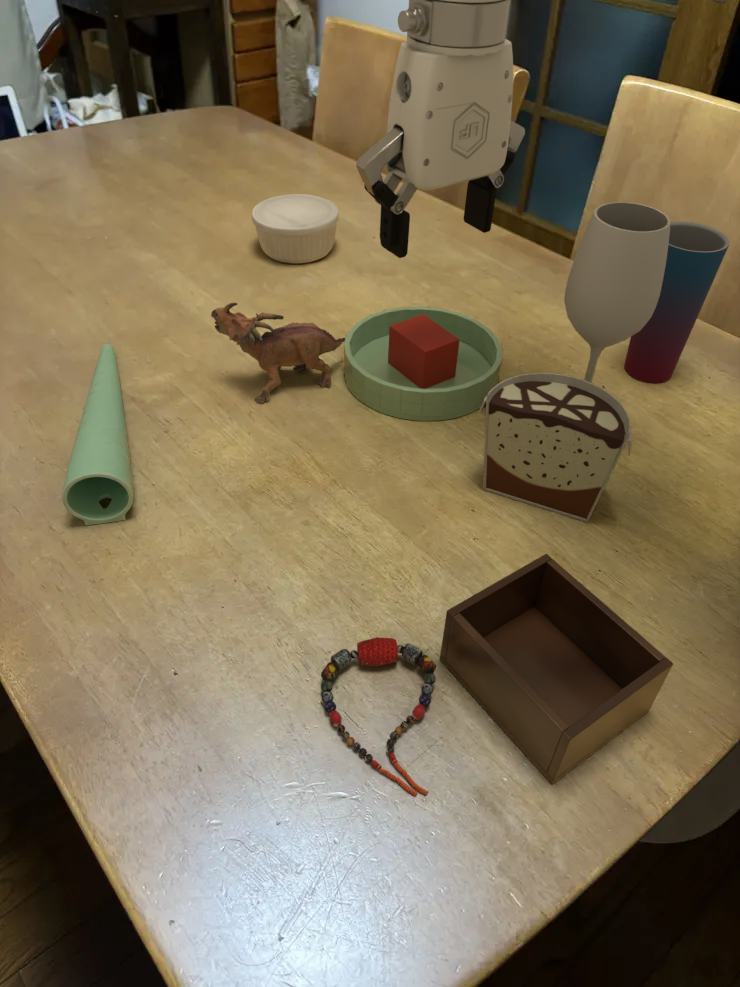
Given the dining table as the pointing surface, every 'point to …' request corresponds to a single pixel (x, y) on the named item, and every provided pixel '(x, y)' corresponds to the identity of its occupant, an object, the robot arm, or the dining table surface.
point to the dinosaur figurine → (278, 344)
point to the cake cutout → (552, 441)
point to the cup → (677, 300)
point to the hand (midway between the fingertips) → (436, 238)
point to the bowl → (400, 395)
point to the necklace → (377, 655)
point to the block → (423, 351)
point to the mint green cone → (100, 451)
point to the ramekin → (296, 227)
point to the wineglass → (616, 275)
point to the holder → (551, 664)
